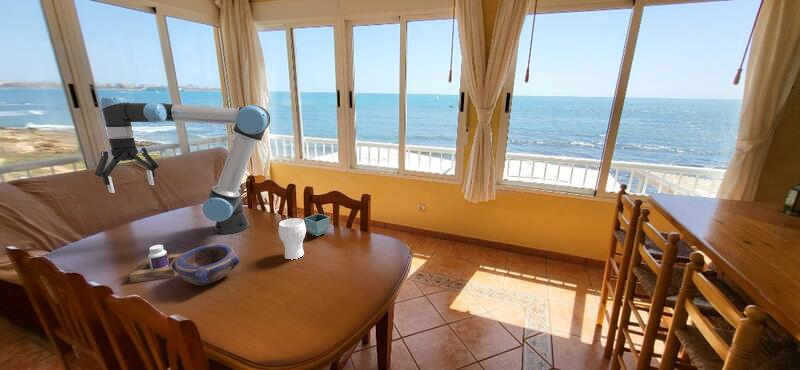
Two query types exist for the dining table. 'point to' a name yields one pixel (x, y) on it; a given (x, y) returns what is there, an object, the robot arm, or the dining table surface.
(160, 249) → the pill bottle
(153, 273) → the brown square frame
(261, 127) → the robot arm
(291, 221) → the cup
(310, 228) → the flower pot
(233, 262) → the bowl
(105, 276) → the dining table surface
